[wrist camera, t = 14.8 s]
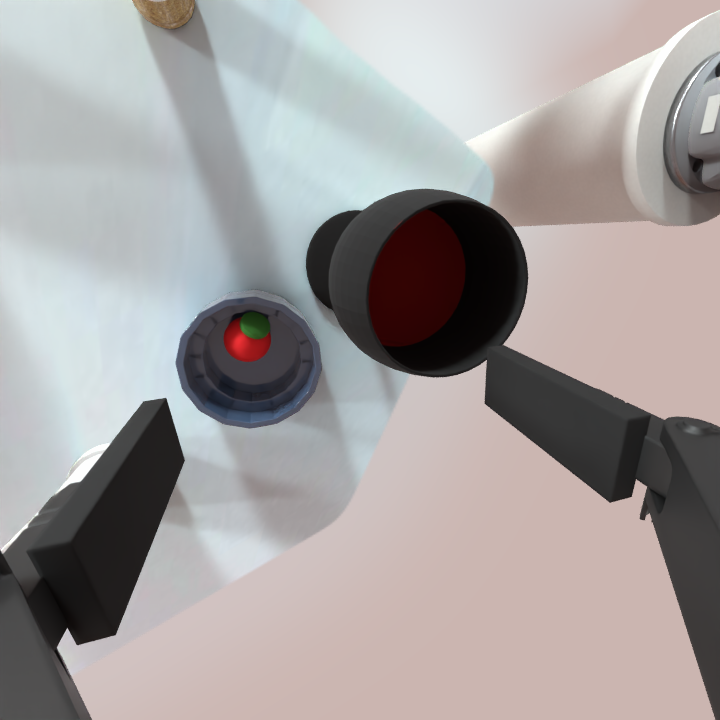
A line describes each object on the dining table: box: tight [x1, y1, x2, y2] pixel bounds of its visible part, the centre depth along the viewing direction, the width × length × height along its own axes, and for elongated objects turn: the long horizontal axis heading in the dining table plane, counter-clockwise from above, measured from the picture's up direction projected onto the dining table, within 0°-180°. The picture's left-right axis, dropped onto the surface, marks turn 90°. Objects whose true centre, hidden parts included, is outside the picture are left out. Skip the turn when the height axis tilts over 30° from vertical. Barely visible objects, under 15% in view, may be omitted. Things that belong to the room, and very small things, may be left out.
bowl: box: [176, 290, 322, 428], centre depth 34 cm, size 12×12×5 cm
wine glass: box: [306, 189, 528, 377], centre depth 26 cm, size 10×10×20 cm
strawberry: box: [224, 312, 271, 362], centre depth 33 cm, size 4×4×5 cm
